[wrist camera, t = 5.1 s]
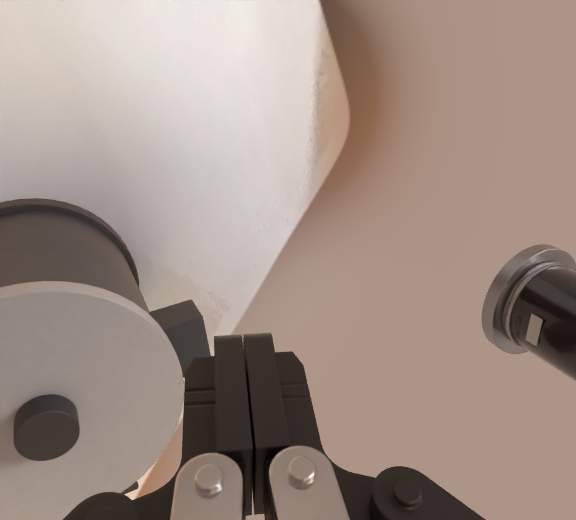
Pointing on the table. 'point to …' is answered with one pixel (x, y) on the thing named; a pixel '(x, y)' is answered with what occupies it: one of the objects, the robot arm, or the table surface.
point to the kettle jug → (81, 362)
